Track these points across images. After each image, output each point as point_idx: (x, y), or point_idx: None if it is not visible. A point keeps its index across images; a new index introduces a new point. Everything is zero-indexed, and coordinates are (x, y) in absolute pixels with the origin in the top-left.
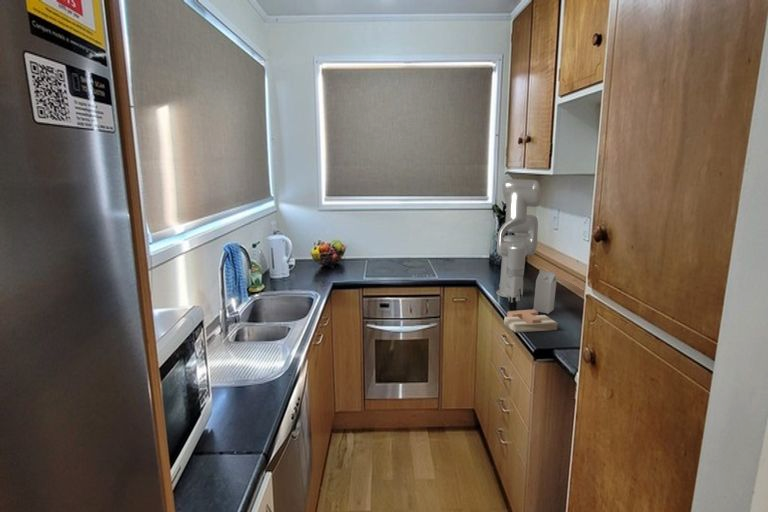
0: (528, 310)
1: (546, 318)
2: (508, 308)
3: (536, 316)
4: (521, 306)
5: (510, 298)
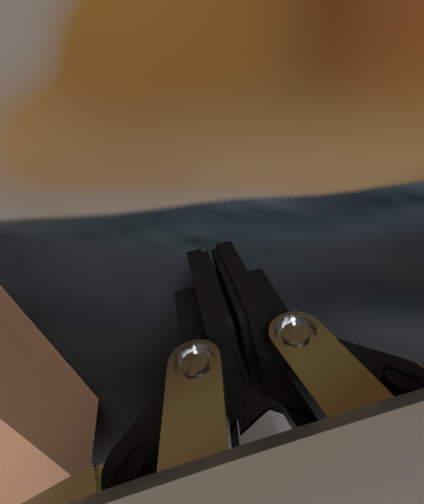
0: (18, 465)
1: None
2: (224, 246)
3: None
4: (368, 346)
5: (289, 376)
